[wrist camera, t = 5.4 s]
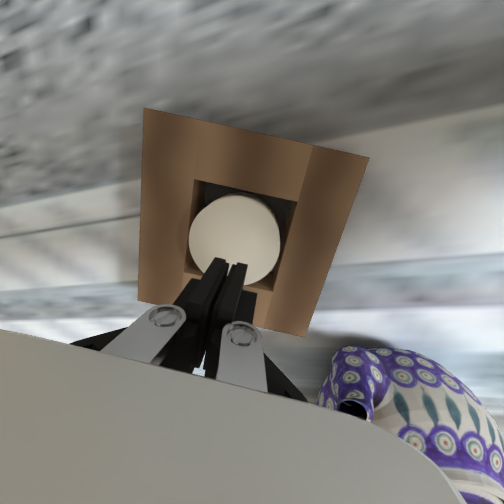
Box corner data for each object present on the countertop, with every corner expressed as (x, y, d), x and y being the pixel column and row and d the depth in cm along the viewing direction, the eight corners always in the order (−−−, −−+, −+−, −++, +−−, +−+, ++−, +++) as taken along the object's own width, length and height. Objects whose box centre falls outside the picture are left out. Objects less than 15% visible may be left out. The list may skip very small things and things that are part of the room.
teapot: (477, 419, 30) (656, 645, 16) (363, 456, 34) (426, 661, 20) (388, 267, 24) (553, 421, 10) (260, 334, 28) (249, 511, 14)
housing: (351, 157, 20) (369, 157, 17) (300, 312, 26) (304, 337, 23) (167, 116, 20) (143, 107, 17) (156, 280, 26) (137, 300, 23)
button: (287, 202, 20) (290, 210, 17) (268, 274, 23) (268, 293, 20) (206, 184, 20) (194, 189, 17) (196, 258, 23) (184, 275, 20)
